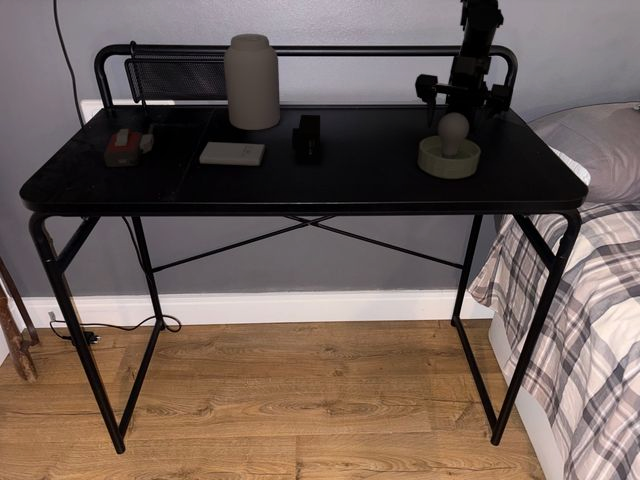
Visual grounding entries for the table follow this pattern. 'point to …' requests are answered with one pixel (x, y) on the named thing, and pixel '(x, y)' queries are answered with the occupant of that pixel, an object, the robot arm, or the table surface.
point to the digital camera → (307, 139)
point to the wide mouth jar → (252, 82)
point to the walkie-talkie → (128, 147)
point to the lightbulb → (452, 133)
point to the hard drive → (232, 154)
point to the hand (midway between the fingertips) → (451, 131)
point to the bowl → (448, 168)
